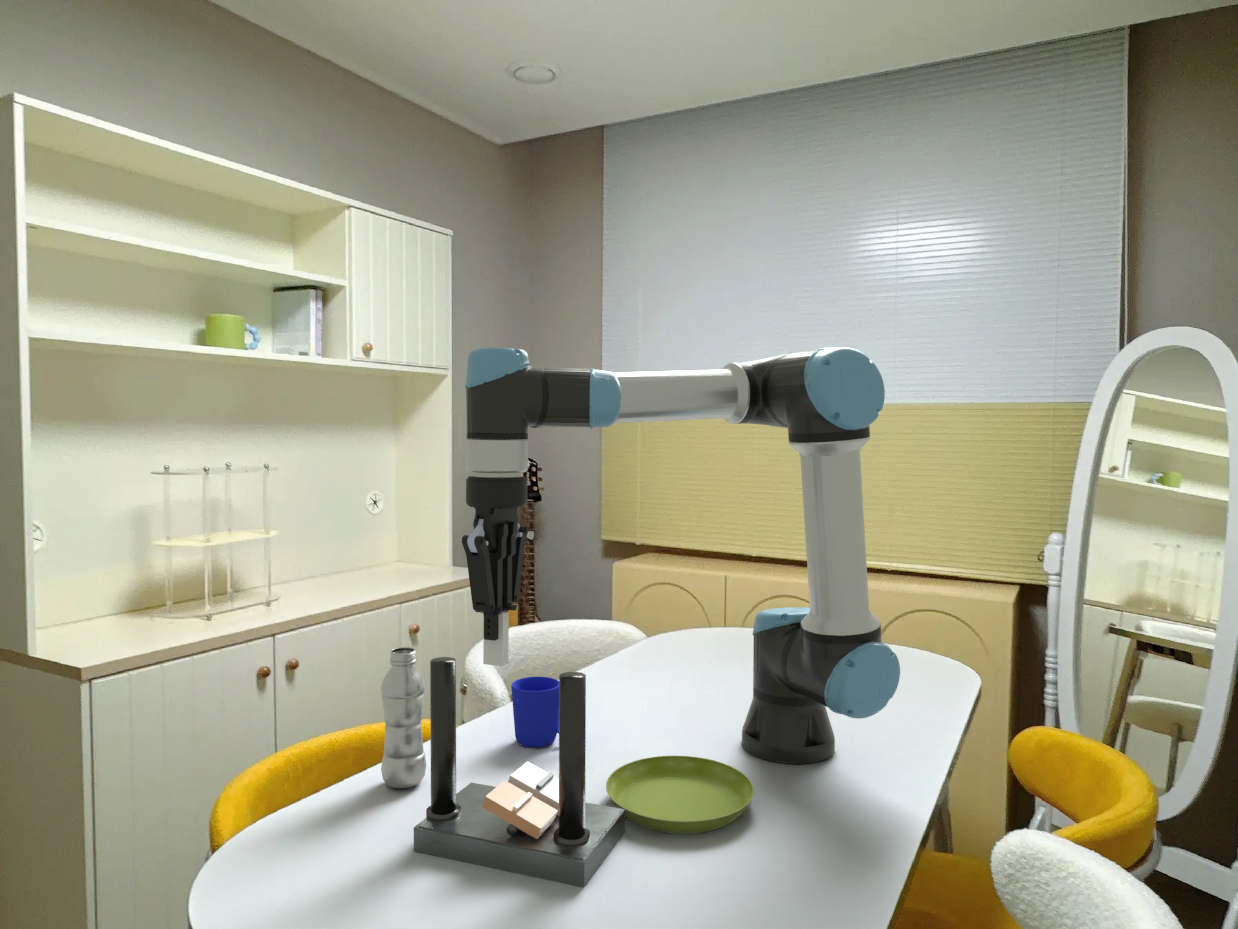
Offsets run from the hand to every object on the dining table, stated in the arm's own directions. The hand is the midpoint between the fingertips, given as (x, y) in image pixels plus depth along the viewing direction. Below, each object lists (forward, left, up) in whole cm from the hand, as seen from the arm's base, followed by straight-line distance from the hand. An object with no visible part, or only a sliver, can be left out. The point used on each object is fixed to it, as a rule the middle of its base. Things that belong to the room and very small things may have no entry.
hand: (495, 663), depth 103 cm
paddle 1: (-3, -7, -18) cm, 19 cm away
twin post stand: (-2, -3, -23) cm, 24 cm away
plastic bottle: (+22, -12, -24) cm, 34 cm away
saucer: (-18, -20, -24) cm, 36 cm away
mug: (+9, -34, -24) cm, 42 cm away
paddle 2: (-3, 0, -18) cm, 18 cm away
